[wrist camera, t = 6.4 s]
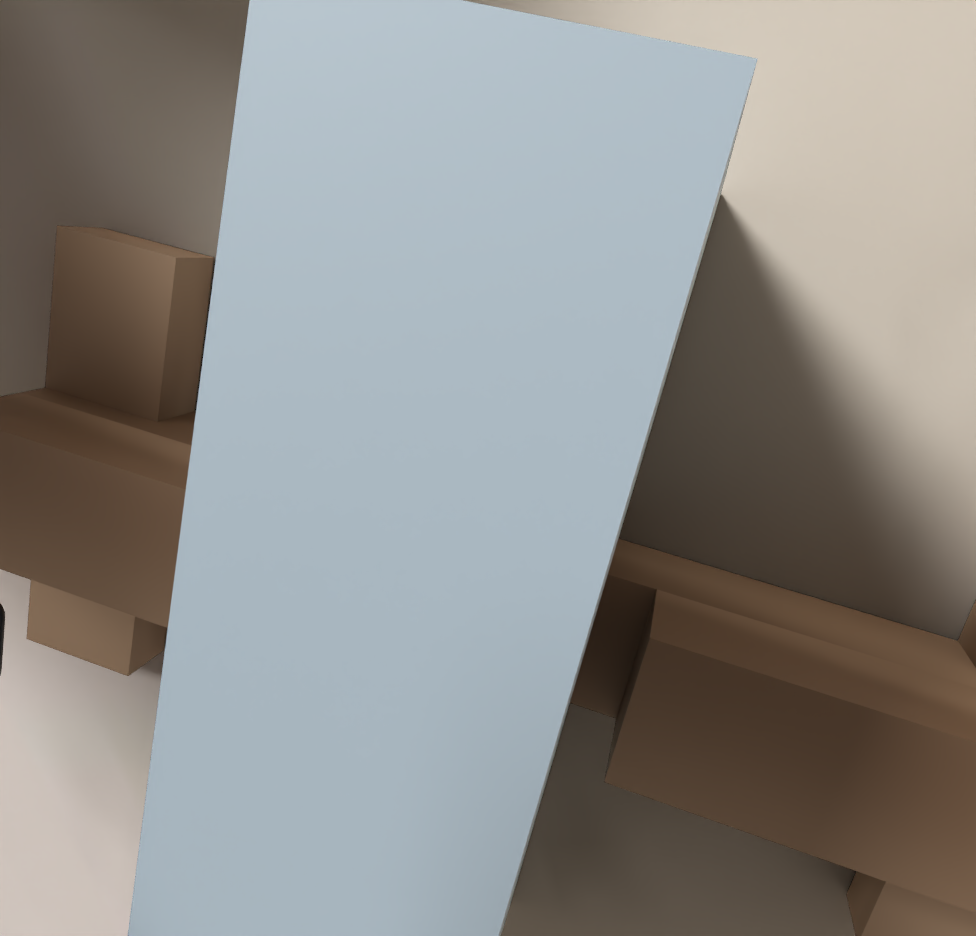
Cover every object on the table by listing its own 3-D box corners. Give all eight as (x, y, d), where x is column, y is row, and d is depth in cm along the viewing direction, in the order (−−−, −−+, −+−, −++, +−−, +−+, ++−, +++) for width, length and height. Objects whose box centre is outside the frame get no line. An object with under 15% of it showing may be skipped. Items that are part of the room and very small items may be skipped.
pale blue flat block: (510, 903, 15) (305, 1590, 7) (382, 853, 15) (60, 1451, 8) (721, 192, 11) (758, 56, 4) (547, 152, 12) (255, -39, 4)
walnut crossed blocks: (981, 942, 13) (1061, 1139, 10) (68, 615, 15) (-75, 695, 13) (1197, 517, 11) (1374, 611, 8) (102, 227, 13) (-59, 220, 11)
